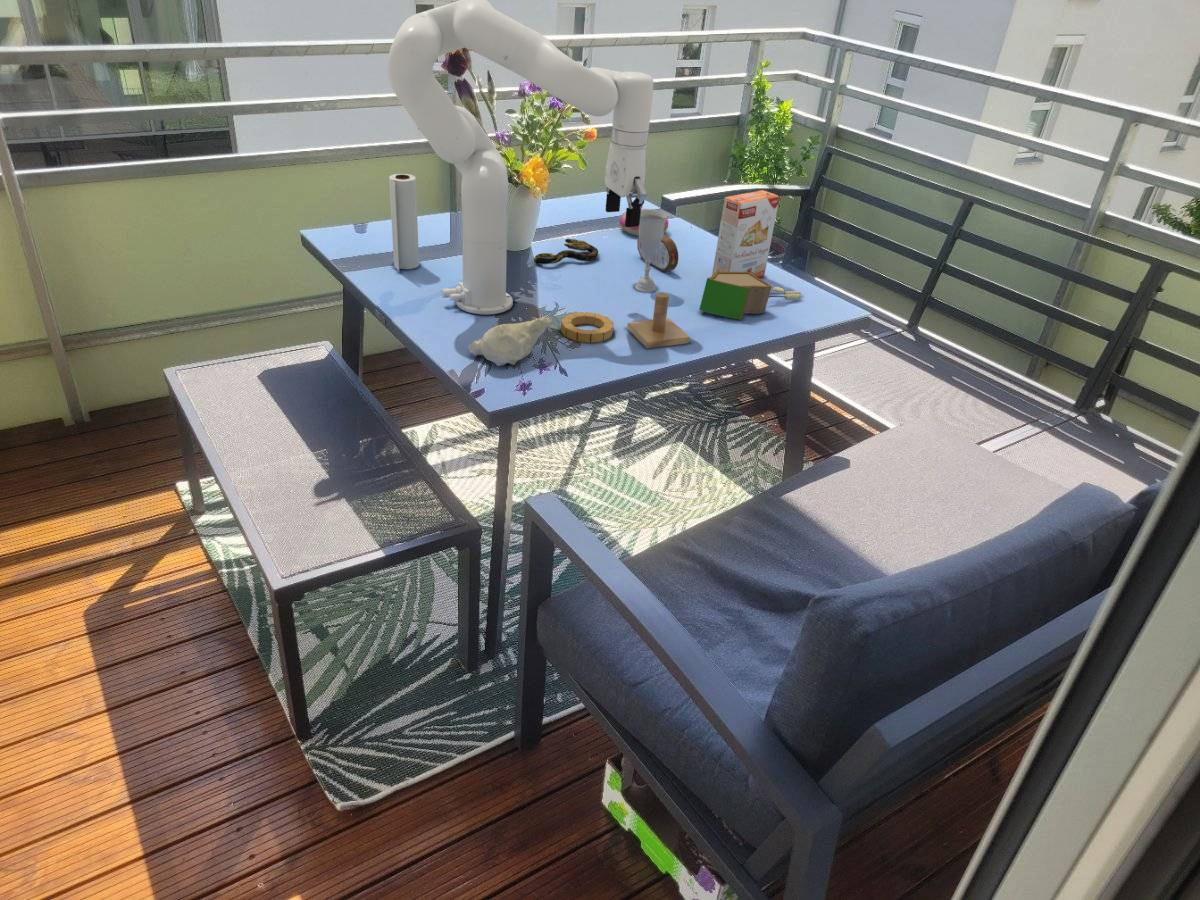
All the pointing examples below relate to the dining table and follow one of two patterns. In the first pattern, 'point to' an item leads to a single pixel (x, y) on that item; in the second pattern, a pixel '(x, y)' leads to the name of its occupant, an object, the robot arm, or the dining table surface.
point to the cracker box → (746, 233)
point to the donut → (635, 229)
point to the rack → (658, 327)
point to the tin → (662, 254)
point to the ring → (587, 335)
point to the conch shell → (510, 341)
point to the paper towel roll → (404, 221)
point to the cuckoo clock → (738, 294)
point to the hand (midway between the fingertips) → (622, 218)
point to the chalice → (650, 242)
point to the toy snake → (569, 253)
